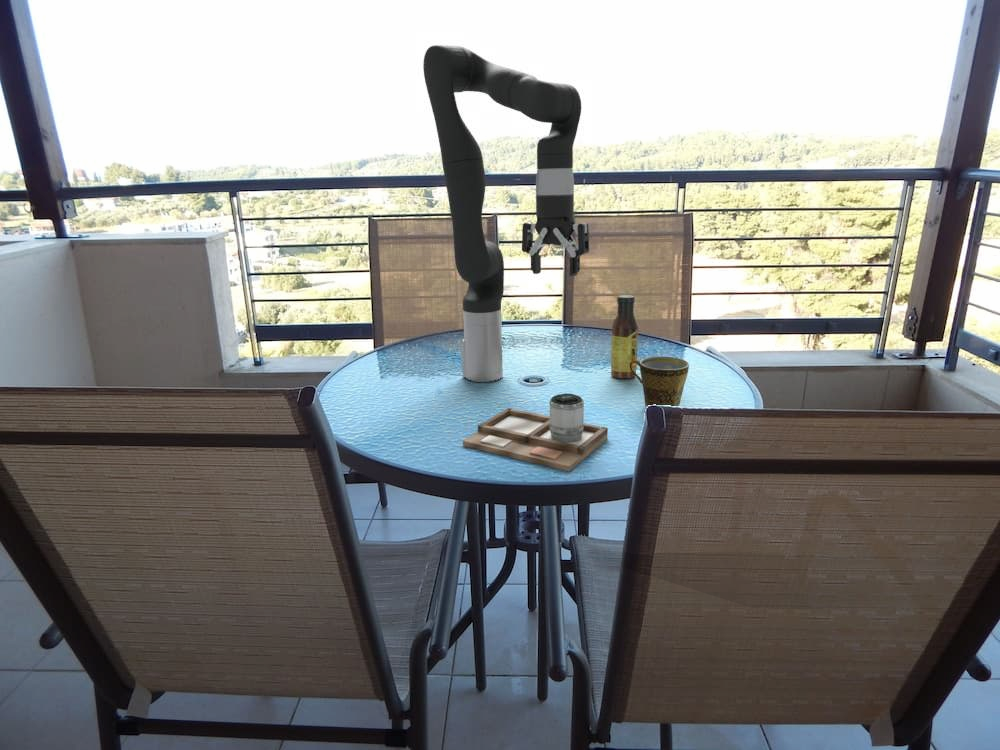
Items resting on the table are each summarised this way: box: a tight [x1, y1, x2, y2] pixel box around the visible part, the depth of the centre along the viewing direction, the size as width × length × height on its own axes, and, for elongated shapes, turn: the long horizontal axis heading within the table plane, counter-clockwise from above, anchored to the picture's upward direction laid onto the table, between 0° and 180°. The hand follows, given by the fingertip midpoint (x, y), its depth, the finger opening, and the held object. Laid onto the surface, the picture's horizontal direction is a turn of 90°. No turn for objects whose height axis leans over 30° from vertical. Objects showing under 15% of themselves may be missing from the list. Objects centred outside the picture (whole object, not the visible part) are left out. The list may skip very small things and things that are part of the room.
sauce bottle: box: [610, 294, 639, 380], centre depth 151 cm, size 6×6×20 cm
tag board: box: [462, 407, 609, 473], centre depth 117 cm, size 22×16×2 cm
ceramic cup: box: [630, 355, 690, 407], centre depth 132 cm, size 13×10×10 cm
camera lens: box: [548, 392, 585, 442], centre depth 115 cm, size 6×6×8 cm
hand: (554, 274), depth 129 cm, fingers open, 8 cm apart
